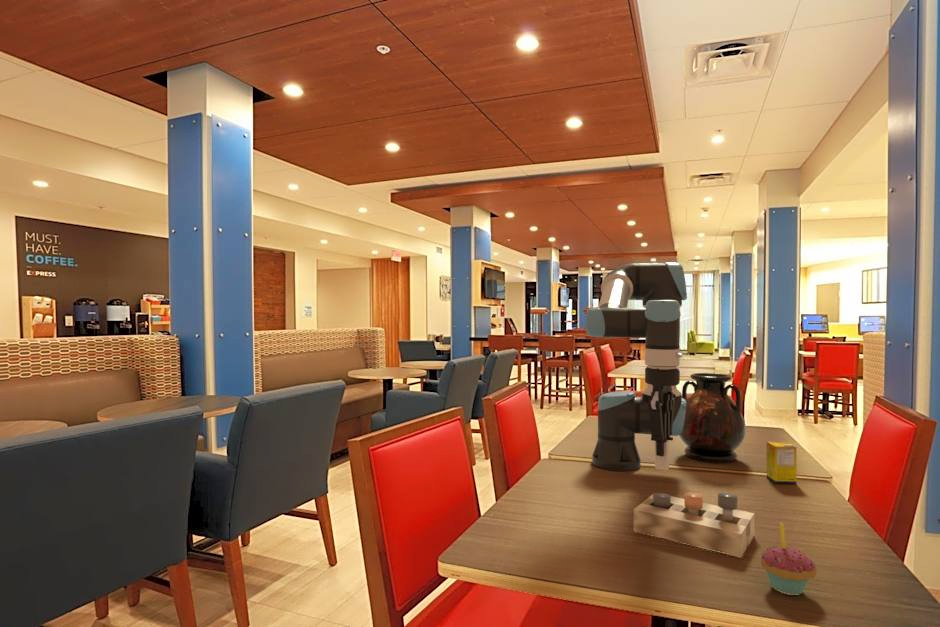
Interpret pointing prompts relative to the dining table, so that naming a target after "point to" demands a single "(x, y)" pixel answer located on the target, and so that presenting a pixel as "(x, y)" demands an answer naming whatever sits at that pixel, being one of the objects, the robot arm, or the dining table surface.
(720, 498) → the charcoal plug right
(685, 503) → the terracotta plug
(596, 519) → the dining table surface
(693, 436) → the amphora vase
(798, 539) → the dining table surface
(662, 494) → the charcoal plug left
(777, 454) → the supplement box
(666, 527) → the panel
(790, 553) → the cupcake
